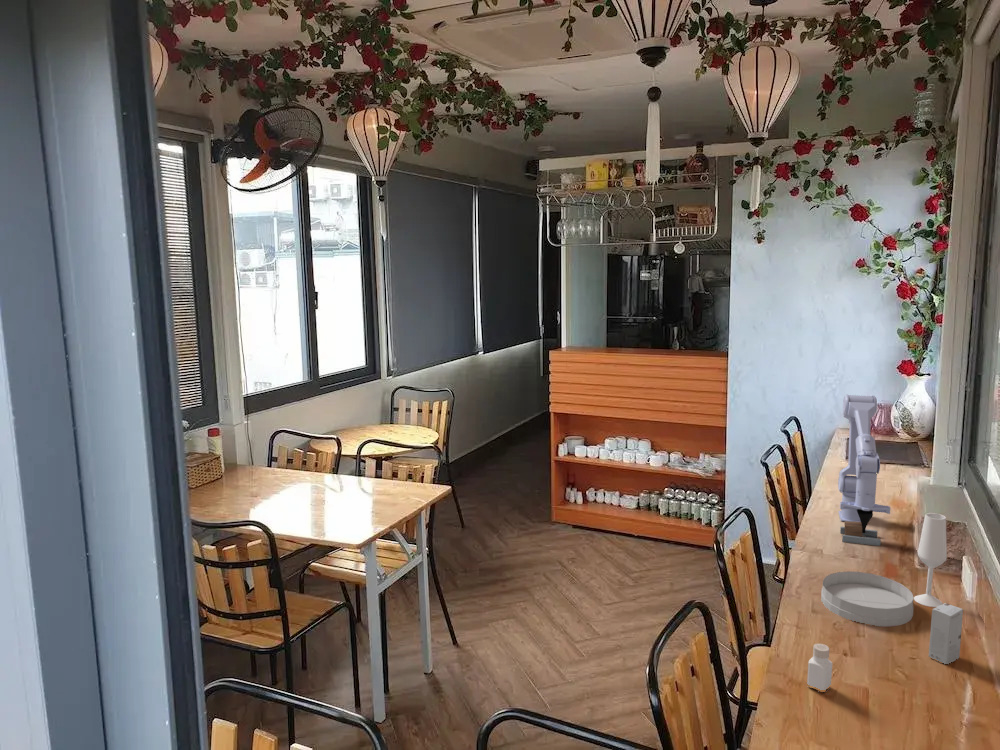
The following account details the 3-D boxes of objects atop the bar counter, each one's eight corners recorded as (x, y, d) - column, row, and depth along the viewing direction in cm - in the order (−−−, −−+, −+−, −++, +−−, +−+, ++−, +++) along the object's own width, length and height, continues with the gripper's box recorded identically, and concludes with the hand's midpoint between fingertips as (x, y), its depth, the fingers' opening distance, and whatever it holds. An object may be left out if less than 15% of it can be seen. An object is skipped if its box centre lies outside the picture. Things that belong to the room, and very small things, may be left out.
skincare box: (947, 666, 168) (951, 616, 166) (926, 657, 172) (931, 608, 170) (960, 657, 172) (965, 609, 170) (940, 649, 175) (944, 601, 173)
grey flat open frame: (840, 532, 247) (840, 526, 246) (876, 536, 243) (877, 530, 243) (842, 541, 239) (842, 535, 239) (880, 545, 235) (880, 540, 235)
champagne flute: (945, 608, 195) (953, 522, 191) (916, 604, 197) (923, 519, 193) (939, 597, 201) (946, 513, 197) (911, 593, 203) (918, 510, 199)
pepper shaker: (805, 687, 161) (808, 647, 159) (813, 679, 164) (816, 640, 162) (824, 695, 158) (827, 654, 156) (831, 687, 161) (834, 647, 159)
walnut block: (844, 535, 244) (844, 521, 244) (861, 536, 243) (861, 521, 242) (845, 540, 240) (845, 525, 240) (862, 541, 239) (862, 526, 238)
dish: (901, 592, 204) (902, 575, 204) (923, 632, 184) (925, 613, 183) (815, 584, 210) (816, 567, 210) (827, 621, 189) (828, 603, 189)
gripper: (842, 493, 237) (839, 533, 239) (892, 497, 232) (889, 538, 234) (840, 487, 243) (837, 526, 245) (889, 491, 238) (886, 531, 241)
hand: (863, 532), depth 240 cm, fingers closed, pressing on walnut block
